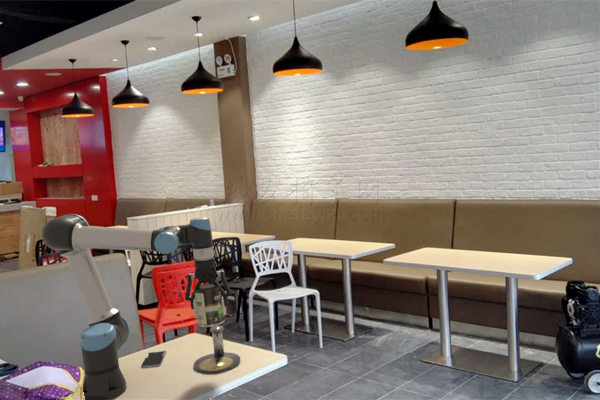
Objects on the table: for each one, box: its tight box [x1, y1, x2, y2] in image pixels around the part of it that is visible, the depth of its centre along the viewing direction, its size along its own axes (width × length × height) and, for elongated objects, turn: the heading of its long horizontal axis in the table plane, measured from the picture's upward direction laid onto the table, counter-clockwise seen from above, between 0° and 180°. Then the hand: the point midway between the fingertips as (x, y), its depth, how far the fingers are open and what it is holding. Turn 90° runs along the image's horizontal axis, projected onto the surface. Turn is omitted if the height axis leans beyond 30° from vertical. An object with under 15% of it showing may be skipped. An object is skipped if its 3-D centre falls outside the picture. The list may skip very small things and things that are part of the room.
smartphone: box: [141, 350, 167, 369], centre depth 224 cm, size 8×1×15 cm
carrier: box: [193, 325, 241, 374], centre depth 214 cm, size 18×19×12 cm
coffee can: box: [193, 283, 225, 328], centre depth 209 cm, size 10×10×14 cm
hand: (210, 315), depth 209 cm, fingers closed on coffee can, 10 cm apart
